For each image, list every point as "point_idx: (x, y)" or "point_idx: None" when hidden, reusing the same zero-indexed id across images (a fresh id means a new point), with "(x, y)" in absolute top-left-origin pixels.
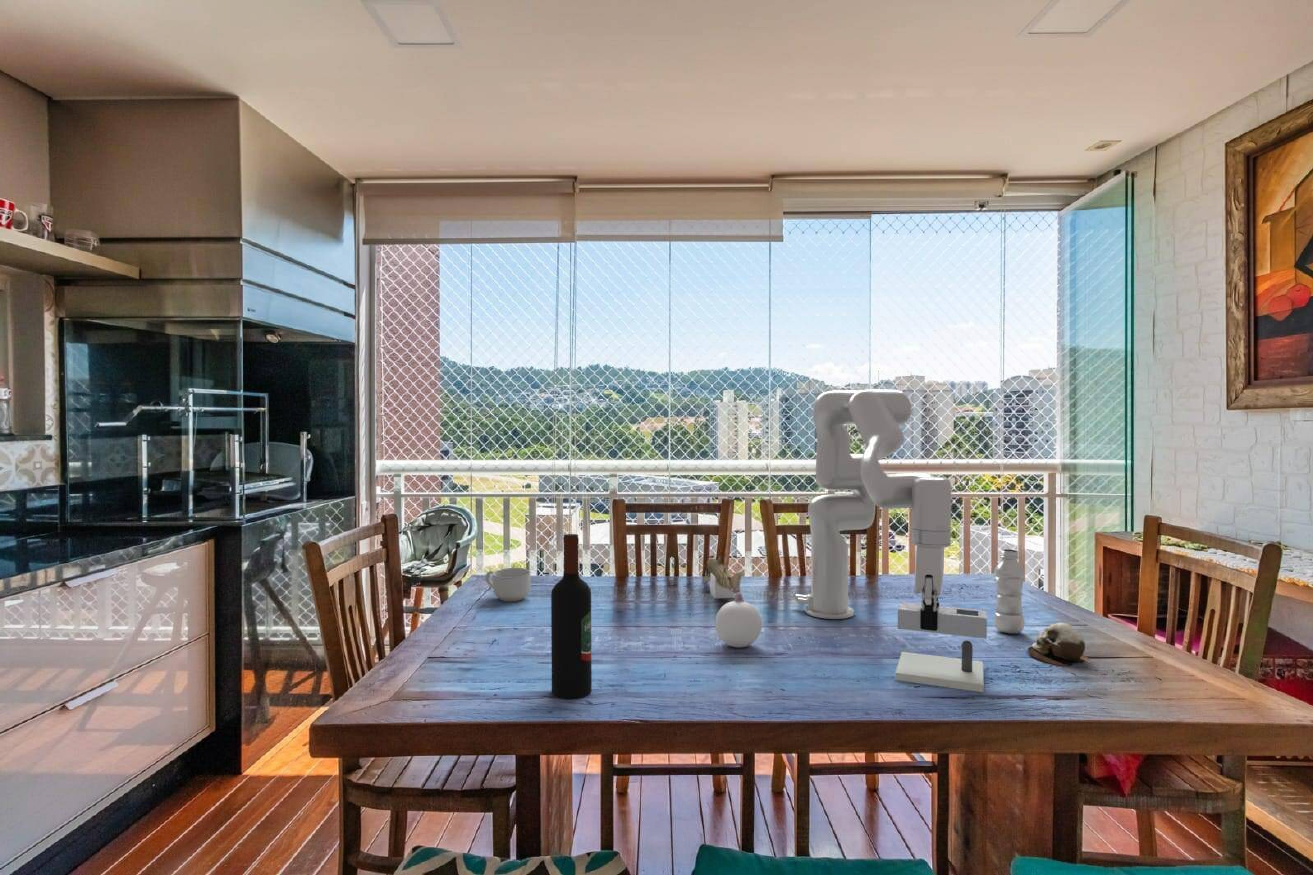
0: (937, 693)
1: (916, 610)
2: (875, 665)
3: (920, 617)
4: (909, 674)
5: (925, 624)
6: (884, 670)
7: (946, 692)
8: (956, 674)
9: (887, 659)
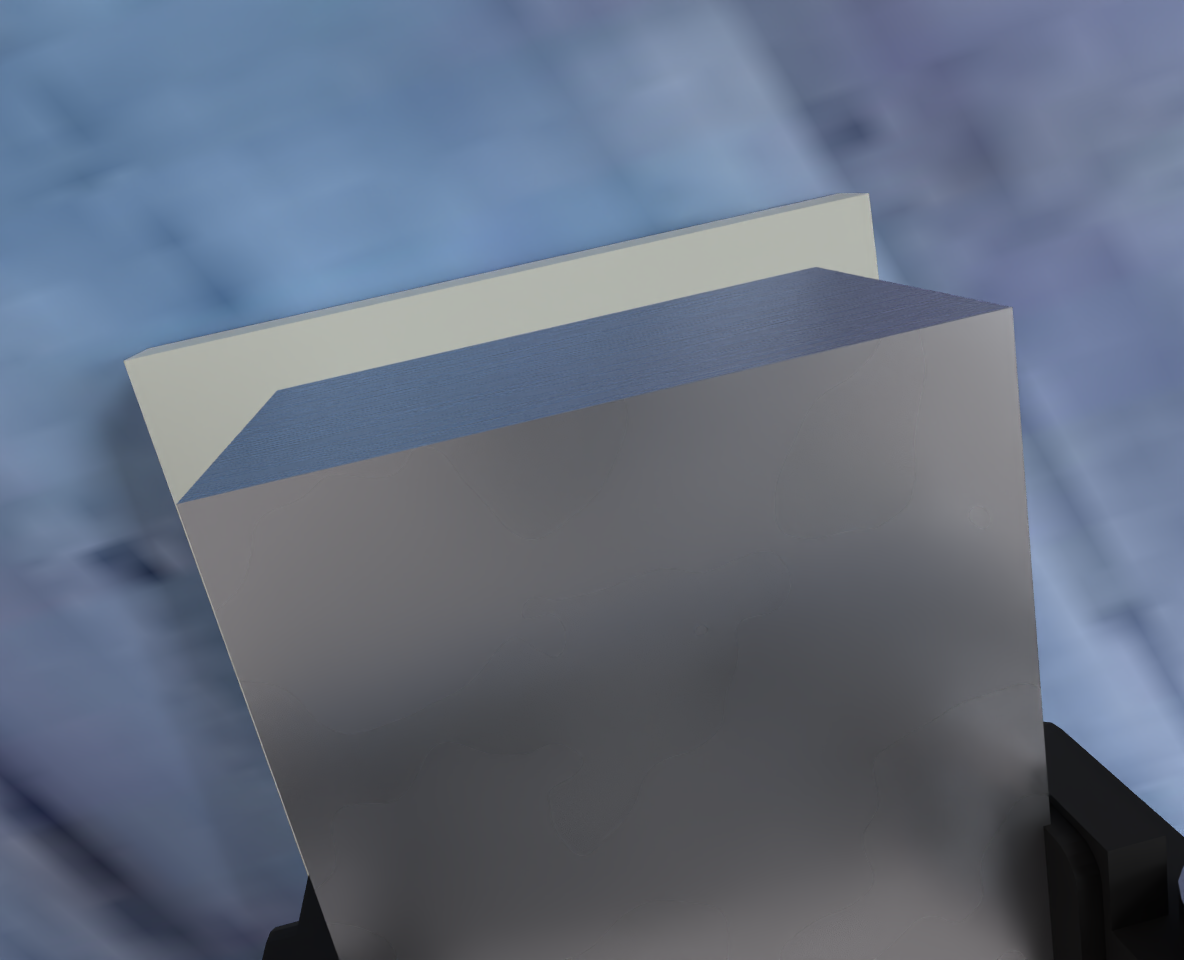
0: (92, 751)
1: (384, 907)
2: (460, 10)
3: (298, 933)
4: (174, 498)
5: (276, 950)
6: (365, 154)
7: (173, 796)
8: None
9: (734, 65)
